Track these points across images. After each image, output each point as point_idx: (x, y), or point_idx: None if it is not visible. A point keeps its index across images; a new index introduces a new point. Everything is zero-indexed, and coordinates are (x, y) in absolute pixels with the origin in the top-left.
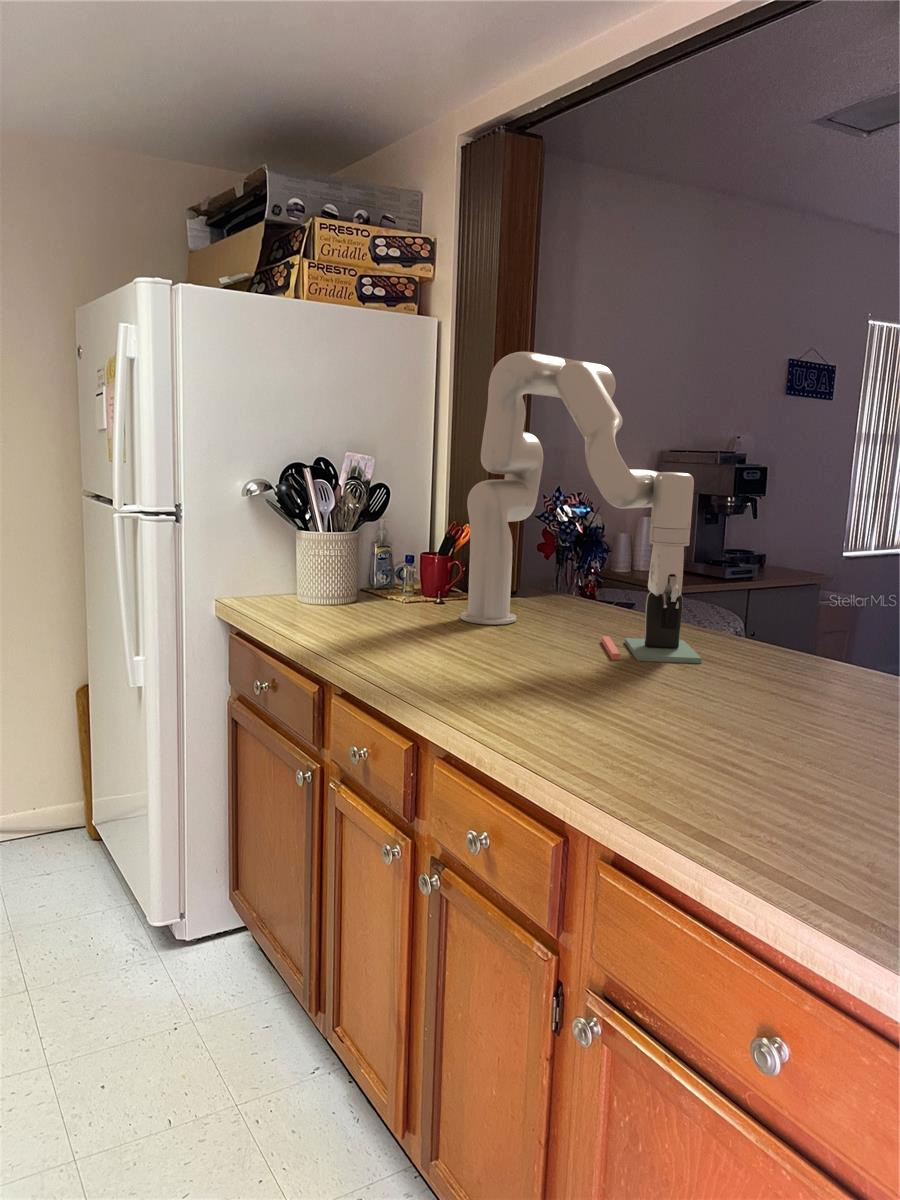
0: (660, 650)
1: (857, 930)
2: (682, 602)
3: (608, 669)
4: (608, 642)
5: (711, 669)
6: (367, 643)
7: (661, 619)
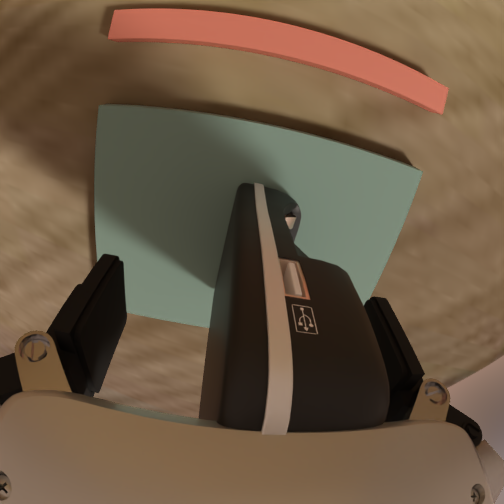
0: (193, 223)
1: None
2: None
3: (20, 8)
4: (336, 49)
5: (55, 292)
6: None
7: (86, 282)
